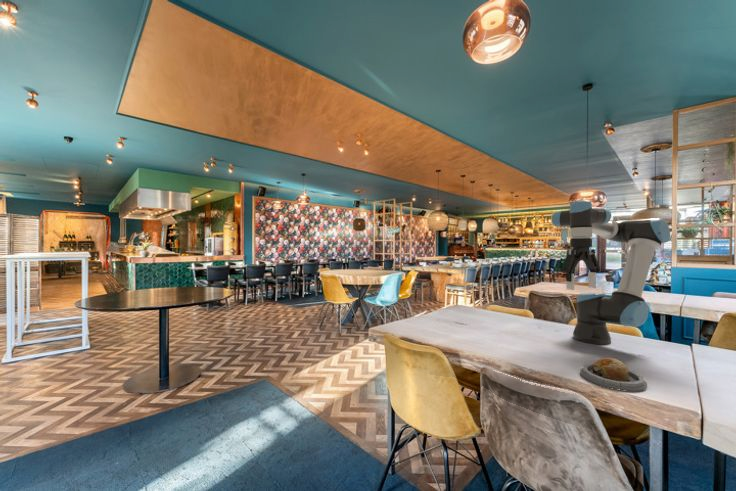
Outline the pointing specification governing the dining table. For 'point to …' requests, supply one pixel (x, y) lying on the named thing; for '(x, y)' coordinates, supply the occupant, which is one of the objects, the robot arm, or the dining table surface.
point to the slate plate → (632, 385)
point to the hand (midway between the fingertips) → (581, 288)
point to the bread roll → (611, 369)
